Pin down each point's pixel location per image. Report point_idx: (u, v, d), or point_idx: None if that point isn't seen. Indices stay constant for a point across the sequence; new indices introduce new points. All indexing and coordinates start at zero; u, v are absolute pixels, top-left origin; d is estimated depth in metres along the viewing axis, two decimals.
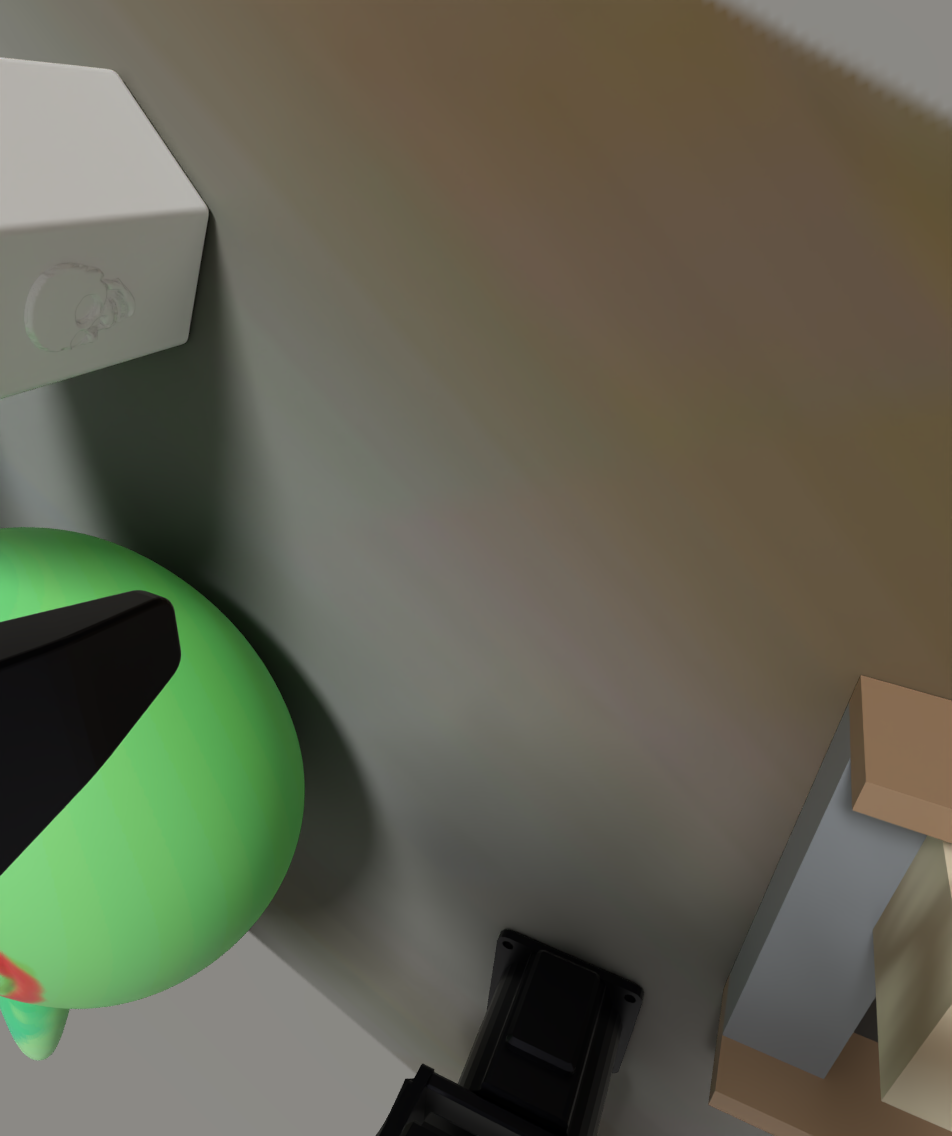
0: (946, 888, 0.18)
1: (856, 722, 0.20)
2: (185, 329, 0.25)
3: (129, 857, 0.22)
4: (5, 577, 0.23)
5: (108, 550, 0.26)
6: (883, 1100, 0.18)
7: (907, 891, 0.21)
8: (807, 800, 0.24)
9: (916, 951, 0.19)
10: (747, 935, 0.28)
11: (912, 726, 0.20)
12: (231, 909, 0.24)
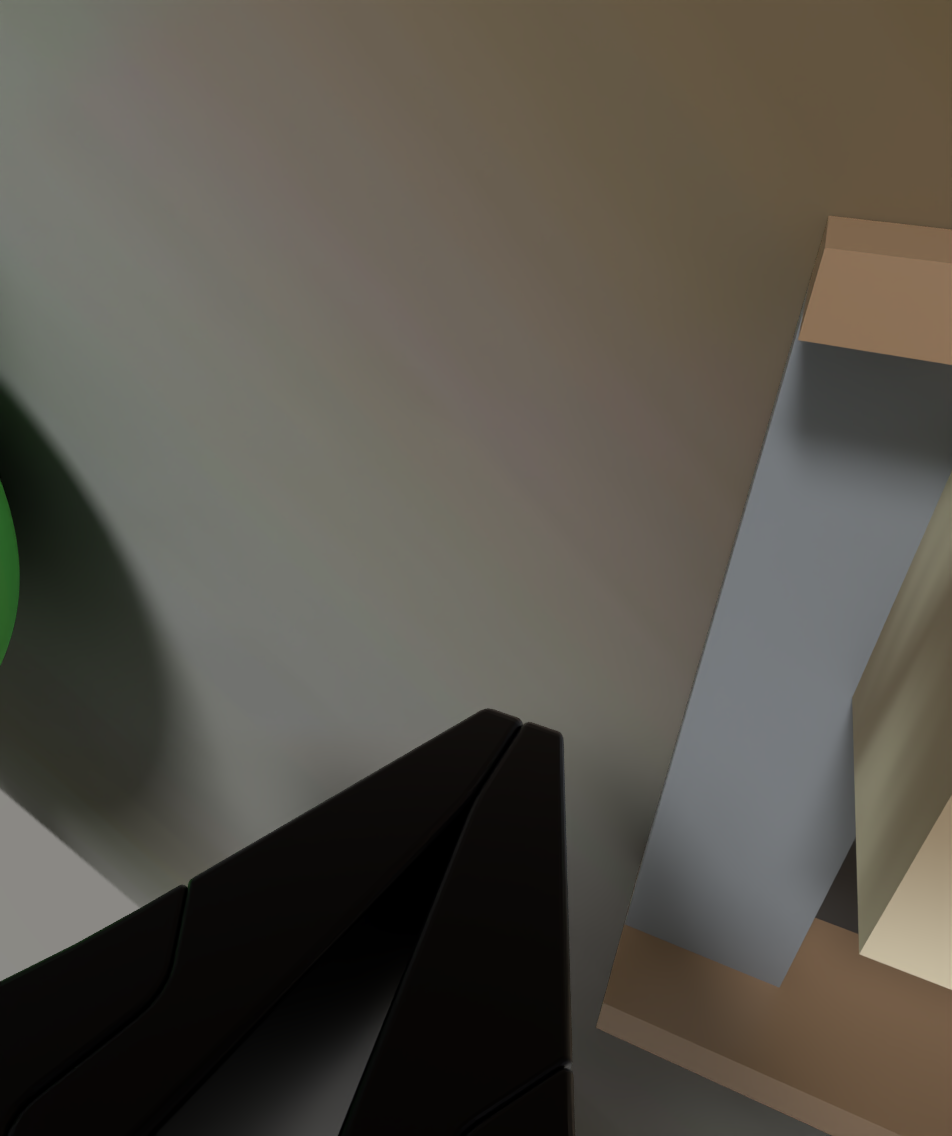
0: None
1: (817, 261, 0.11)
2: None
3: None
4: None
5: None
6: (863, 952, 0.09)
7: (914, 584, 0.11)
8: None
9: (934, 651, 0.09)
10: (666, 775, 0.18)
11: (925, 236, 0.10)
12: None
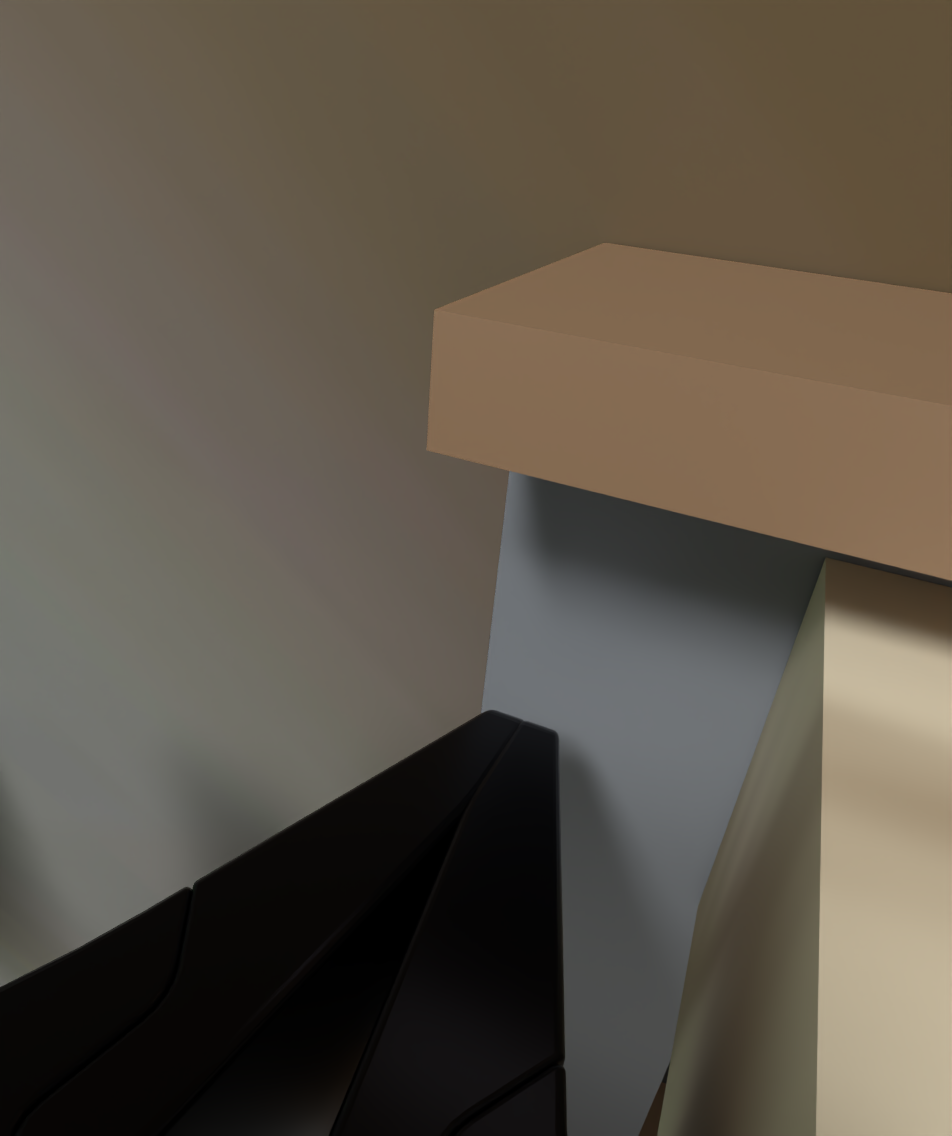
0: (813, 732, 0.05)
1: None
2: None
3: None
4: None
5: None
6: None
7: (749, 792, 0.07)
8: None
9: (732, 963, 0.06)
10: None
11: (687, 280, 0.07)
12: None
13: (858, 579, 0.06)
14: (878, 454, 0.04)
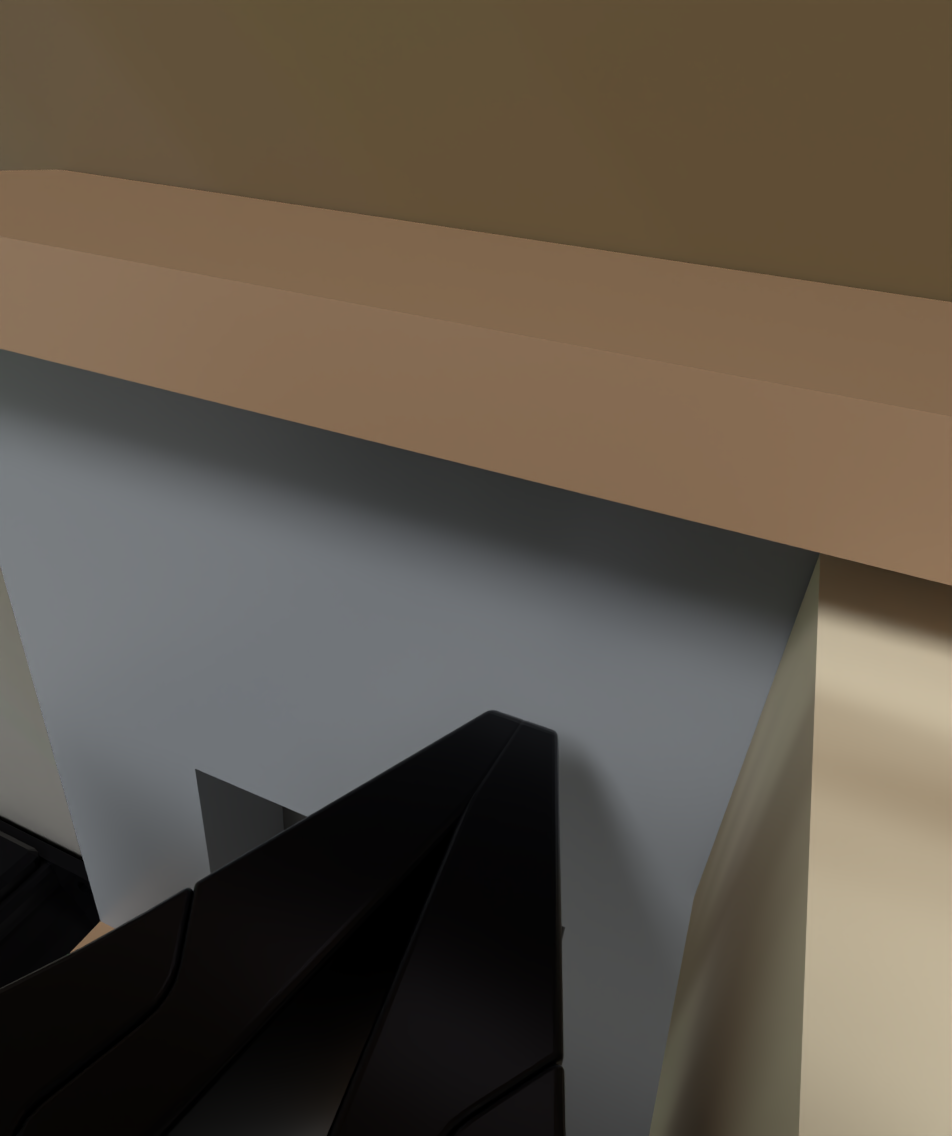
0: (805, 722, 0.05)
1: None
2: None
3: None
4: None
5: None
6: None
7: (744, 784, 0.07)
8: None
9: (726, 948, 0.06)
10: None
11: (18, 183, 0.09)
12: None
13: (851, 574, 0.07)
14: None
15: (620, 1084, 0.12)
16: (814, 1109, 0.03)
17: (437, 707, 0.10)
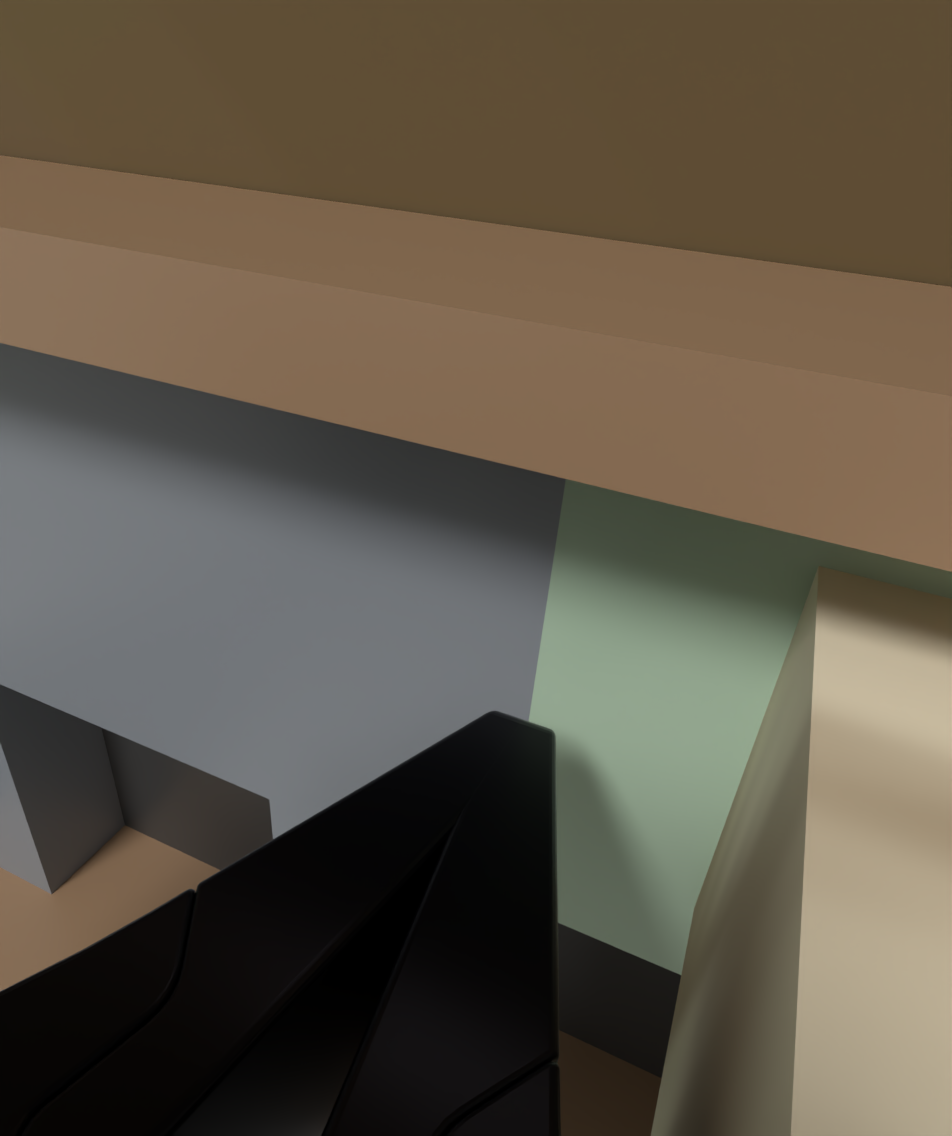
0: (802, 738, 0.05)
1: None
2: None
3: None
4: None
5: None
6: None
7: (743, 796, 0.07)
8: None
9: (723, 964, 0.06)
10: None
11: None
12: None
13: (850, 588, 0.07)
14: None
15: None
16: None
17: (129, 595, 0.11)
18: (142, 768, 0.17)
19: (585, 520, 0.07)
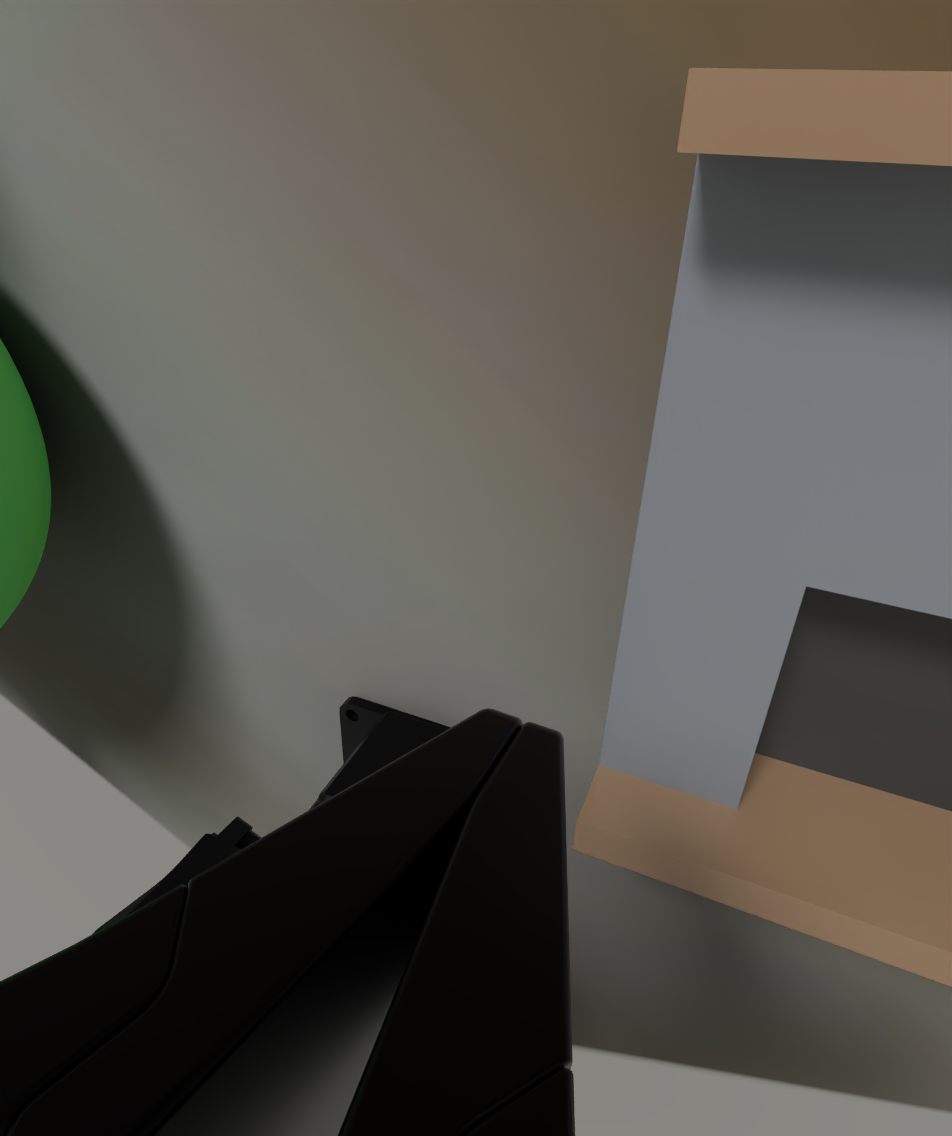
0: None
1: None
2: None
3: None
4: None
5: None
6: None
7: None
8: None
9: None
10: None
11: None
12: None
13: None
14: (914, 103, 0.09)
15: None
16: None
17: None
18: (812, 689, 0.18)
19: None
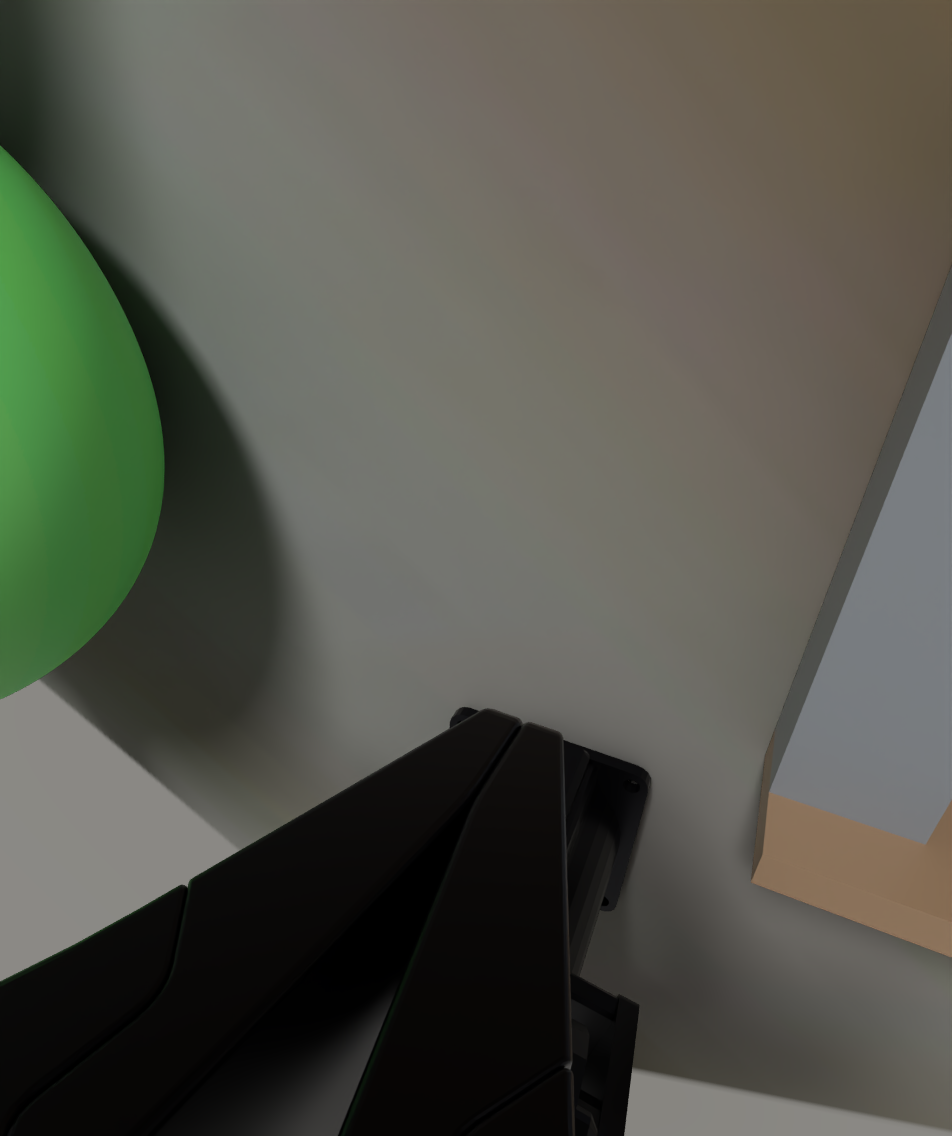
0: None
1: None
2: None
3: None
4: None
5: None
6: None
7: None
8: (915, 366, 0.15)
9: None
10: (804, 653, 0.19)
11: None
12: (2, 545, 0.15)
13: None
14: None
15: None
16: None
17: None
18: None
19: None
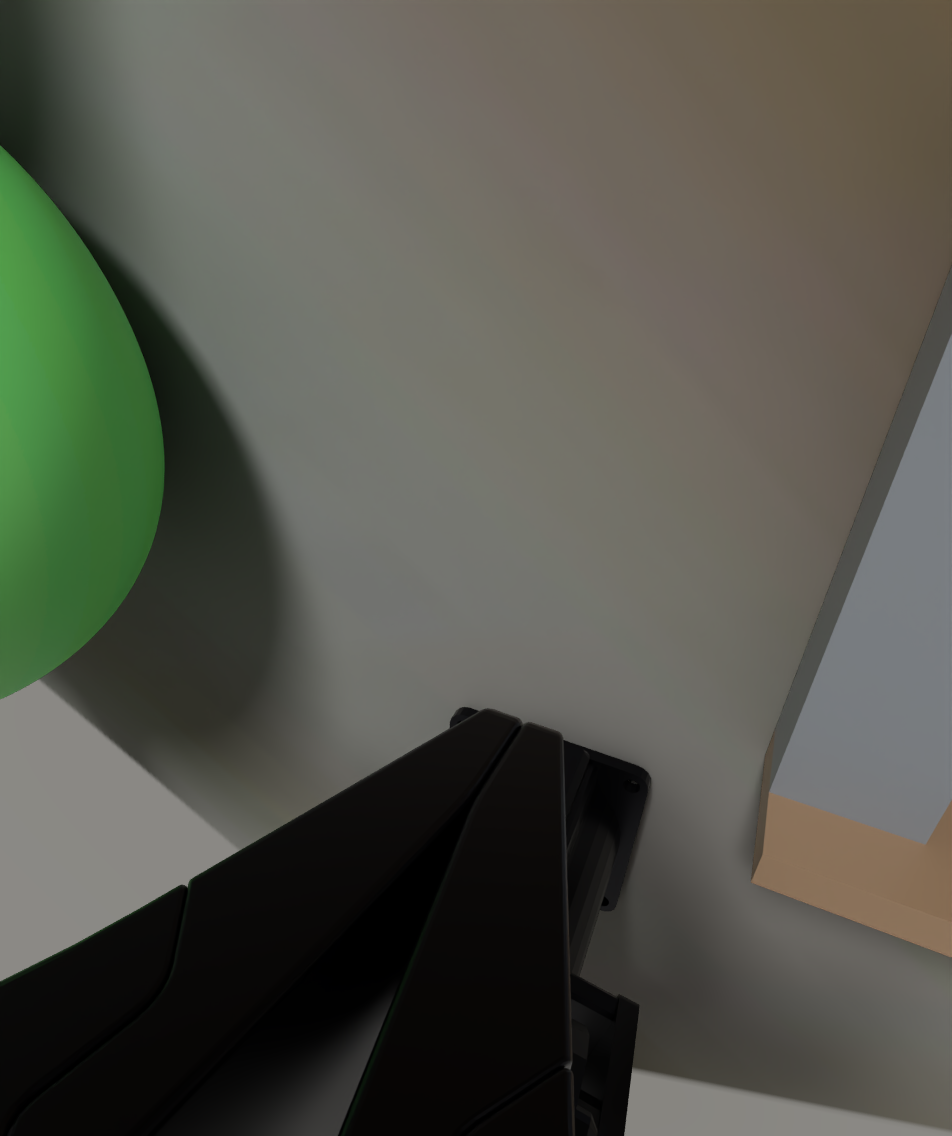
0: None
1: None
2: None
3: None
4: None
5: None
6: None
7: None
8: (915, 366, 0.15)
9: None
10: (804, 653, 0.19)
11: None
12: (2, 545, 0.15)
13: None
14: None
15: None
16: None
17: None
18: None
19: None
